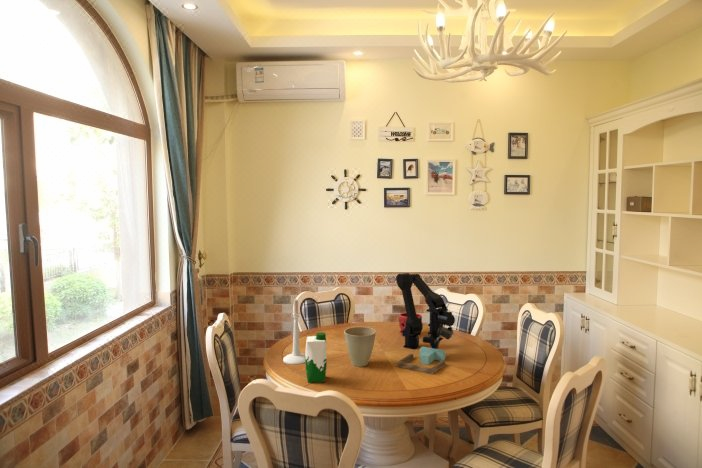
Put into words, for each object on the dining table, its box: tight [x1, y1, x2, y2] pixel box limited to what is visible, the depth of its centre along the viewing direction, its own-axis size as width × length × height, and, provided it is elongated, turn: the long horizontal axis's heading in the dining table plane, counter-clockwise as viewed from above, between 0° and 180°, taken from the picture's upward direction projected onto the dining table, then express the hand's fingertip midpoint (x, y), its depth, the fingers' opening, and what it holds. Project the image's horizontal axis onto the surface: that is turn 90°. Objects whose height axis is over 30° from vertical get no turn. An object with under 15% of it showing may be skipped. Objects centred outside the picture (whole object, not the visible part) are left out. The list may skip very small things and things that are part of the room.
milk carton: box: [304, 332, 328, 384], centre depth 193 cm, size 9×9×20 cm
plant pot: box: [343, 326, 377, 368], centre depth 212 cm, size 15×15×16 cm
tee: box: [419, 346, 447, 365], centre depth 218 cm, size 12×12×4 cm
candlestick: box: [282, 299, 305, 366], centre depth 217 cm, size 13×13×30 cm
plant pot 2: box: [398, 312, 423, 336], centre depth 259 cm, size 13×13×12 cm
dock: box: [396, 353, 446, 375], centre depth 210 cm, size 18×14×2 cm
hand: (435, 352), depth 224 cm, fingers closed
